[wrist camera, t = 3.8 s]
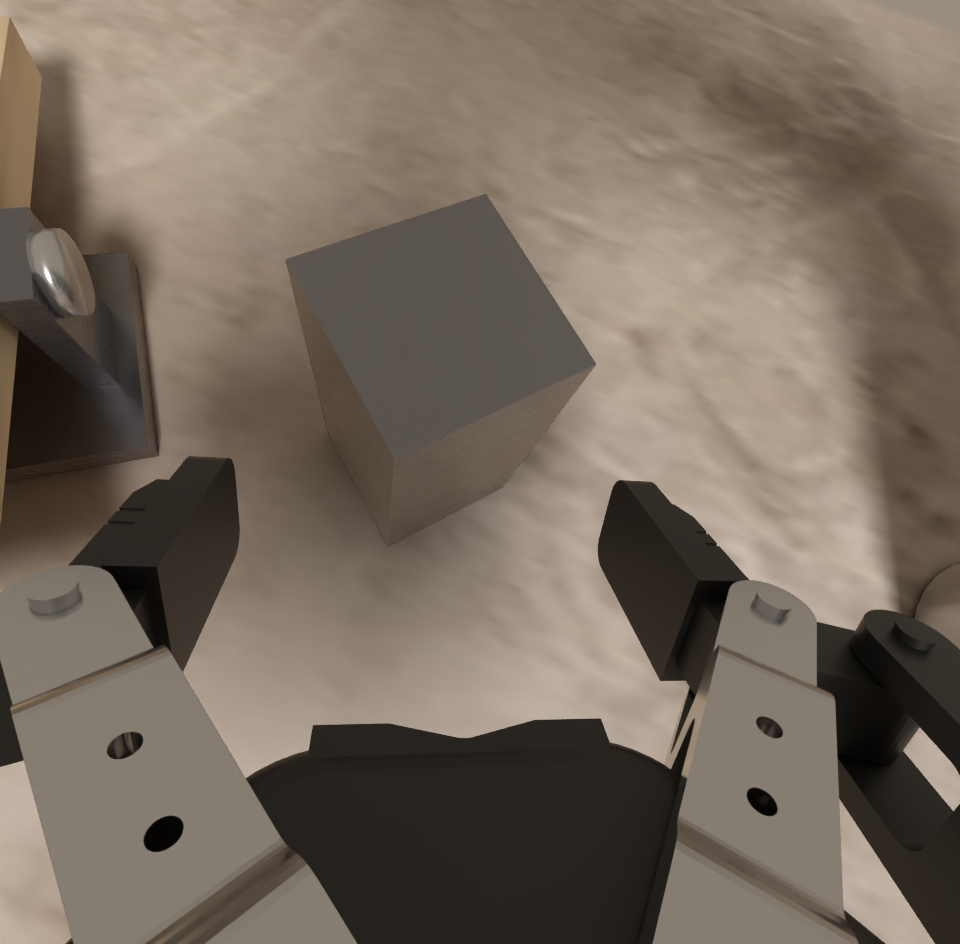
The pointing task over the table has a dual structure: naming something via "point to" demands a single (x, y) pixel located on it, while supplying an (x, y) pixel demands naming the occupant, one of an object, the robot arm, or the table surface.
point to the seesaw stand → (72, 353)
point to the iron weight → (434, 359)
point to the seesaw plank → (14, 185)
